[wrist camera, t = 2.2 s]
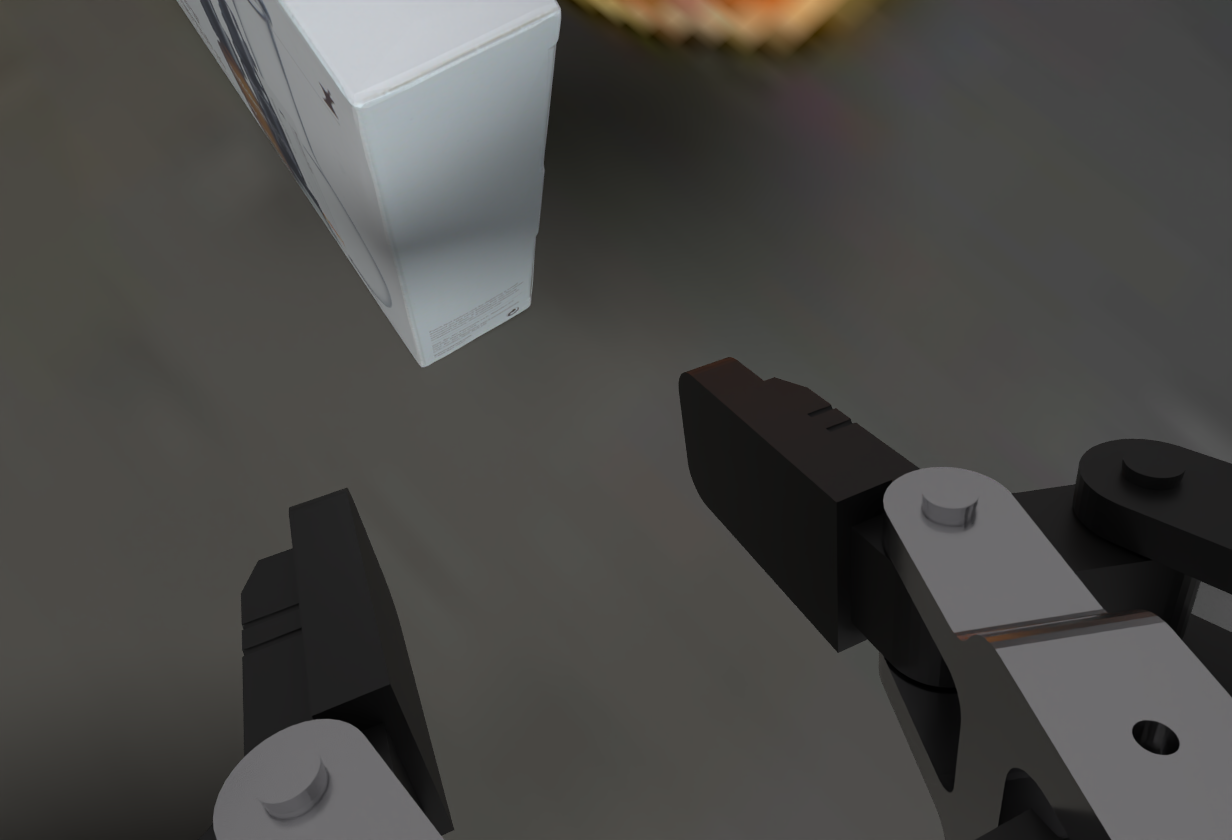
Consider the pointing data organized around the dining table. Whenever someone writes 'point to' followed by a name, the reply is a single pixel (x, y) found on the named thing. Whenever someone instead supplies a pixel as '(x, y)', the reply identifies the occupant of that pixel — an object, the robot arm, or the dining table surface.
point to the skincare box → (407, 141)
